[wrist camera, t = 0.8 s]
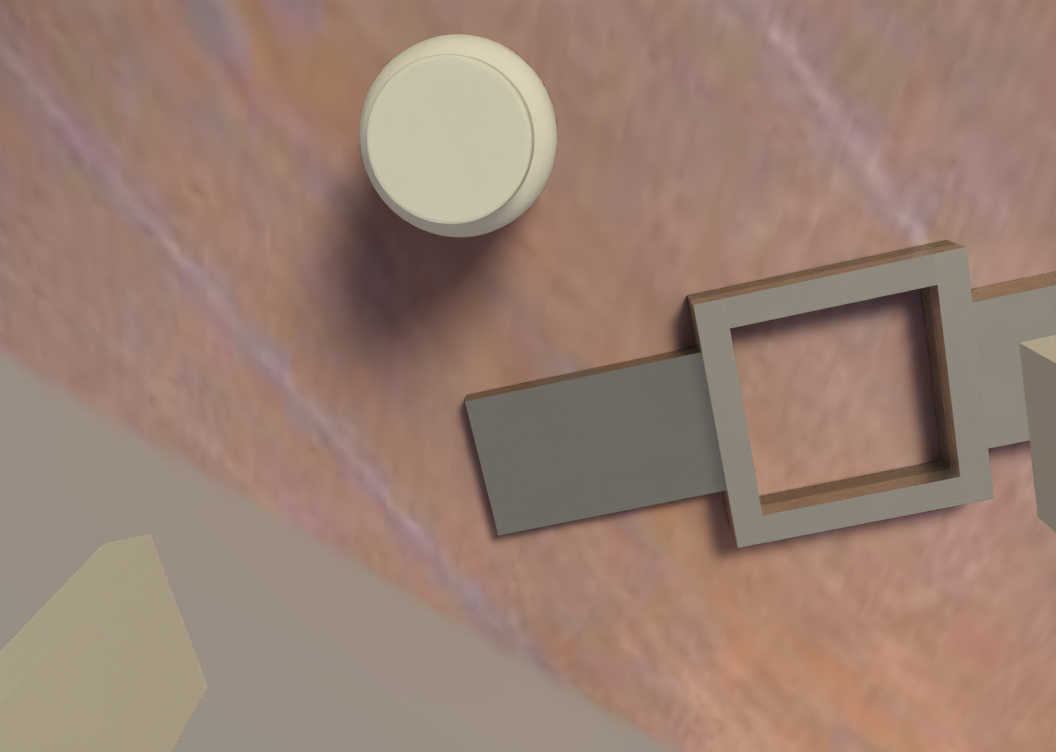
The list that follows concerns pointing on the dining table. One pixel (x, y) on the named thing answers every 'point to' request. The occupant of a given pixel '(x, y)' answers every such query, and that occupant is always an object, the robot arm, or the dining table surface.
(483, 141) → the pill bottle
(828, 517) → the square frame bracket
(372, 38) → the dining table surface
